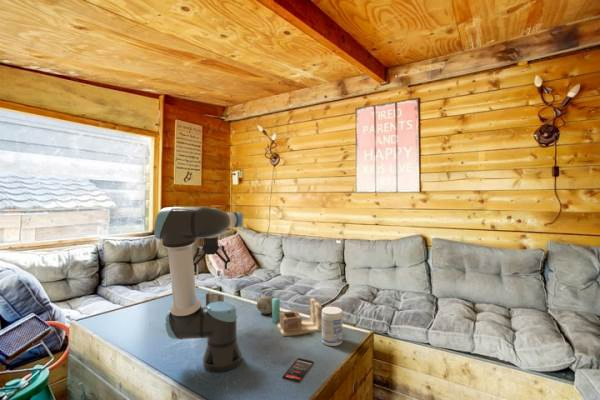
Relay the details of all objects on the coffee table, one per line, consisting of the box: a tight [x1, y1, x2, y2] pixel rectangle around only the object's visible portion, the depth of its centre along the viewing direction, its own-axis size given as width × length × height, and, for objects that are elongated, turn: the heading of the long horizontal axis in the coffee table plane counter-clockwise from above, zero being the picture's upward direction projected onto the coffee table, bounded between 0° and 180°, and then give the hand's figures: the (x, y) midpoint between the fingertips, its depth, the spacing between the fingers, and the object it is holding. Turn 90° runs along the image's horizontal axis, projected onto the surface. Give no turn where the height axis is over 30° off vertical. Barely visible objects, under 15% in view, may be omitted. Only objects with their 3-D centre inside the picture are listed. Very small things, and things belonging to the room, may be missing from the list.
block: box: [279, 310, 303, 332], centre depth 152 cm, size 9×9×6 cm
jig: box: [276, 297, 323, 338], centre depth 154 cm, size 13×20×12 cm, turn 107°
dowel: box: [271, 297, 281, 324], centre depth 161 cm, size 4×4×12 cm
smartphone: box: [281, 357, 315, 384], centre depth 117 cm, size 7×1×15 cm
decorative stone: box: [256, 295, 273, 315], centre depth 173 cm, size 10×8×10 cm
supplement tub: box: [321, 306, 343, 347], centre depth 139 cm, size 10×10×15 cm
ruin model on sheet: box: [205, 290, 225, 307], centre depth 184 cm, size 11×3×10 cm, turn 68°
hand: (211, 276), depth 161 cm, fingers open, 13 cm apart
